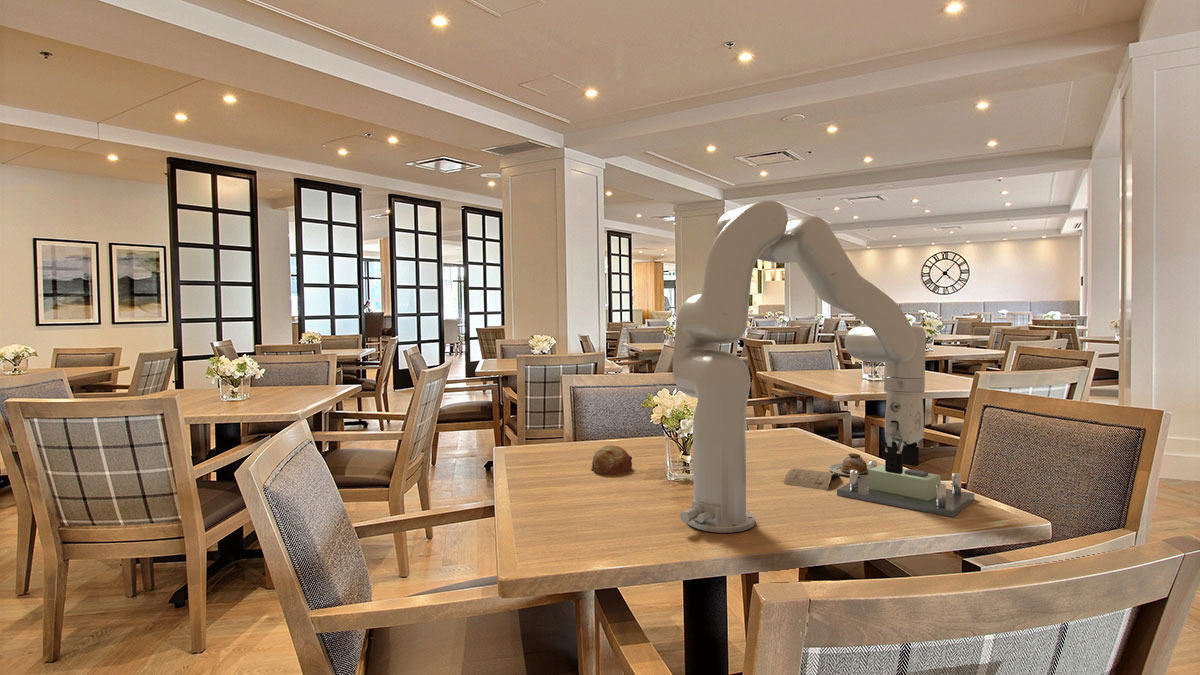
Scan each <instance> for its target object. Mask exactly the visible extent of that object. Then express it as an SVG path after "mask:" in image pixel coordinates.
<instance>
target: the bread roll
mask: <svg viewBox="0 0 1200 675" xmlns="http://www.w3.org/2000/svg"><path fill="white" fill-rule="evenodd" d="M632 460H633V457H632V456H631V455H630V454H629V453H628V451H627V450H625V449H624V448H622V447H620V446H618V445H612V444H607V445H604V446H602V447H600V448H599V449H597V450H596V452H594V454H593V456H592V462H591V464H592V465H591V468H590V470H591V469H592V470H591V471H593V470H594V472H595V471H596V472H595V473H597V474H600V473H601V474H600V475H620V474H625V473H628V472H630V471H631V469H632V467H633V463H632ZM619 473H620V474H619Z"/></svg>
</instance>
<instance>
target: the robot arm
mask: <svg viewBox="0 0 1200 675" xmlns="http://www.w3.org/2000/svg"><path fill="white" fill-rule="evenodd" d="M788 216H789V215H788V210H787V209H786V207H785V206H784V205H783V204H782V203H780V202H777V201H776V200H770V199H766V200H760V201H756V202H753V203H749V204H747V205H744V206H742V207H739V208H735V209H731V210H729V211H727V212H726V213H724V214H723V215H722V216H721V217H720V218H719V219H718V220H717V222H716V224H715V229H714V235H715V239H714V241H713V243H712V245H711V247H710V249H709V252H708V255H707V258H706V262H705V270H704V276H703V284H702V290H701V291H702V292H701V293H698V294H697V293H696V294H694V295H692V296H691V297H688V298H687V299H686V300H685V301H684V302H683V304H682V305H681V307H680V308H679V312H678V314H677V317H676V324H675V332H674V345H673V354H672V355H673V356H672V376H673V377H672V378H673V381H674V383H675V385H676V387H677V389H679V391H680V392H681V393H683V394H685V395H687V396H689V397H692V398H694V399H697V404H696V406H695V410H694V414H693V421H692V450H693V451H692V452H693V453H692V456H693V458H692V459H693V460H692V461H693V466H692V468H693V469H692V470H693V474H692V475H693V499H692V500H691V507H690V508H689V509H686V510H685V511H682V512H681V513H680V514H679V517H680V520H681V521H682V522H683V523H685V524H686V523H687V524H688V526H690V527H692V528H694V529H697V530H699V531H700V530H701V531H703V532H710V533H719V534H726V533H727V534H728V533H738V532H739V533H741V532H745V531H747V530H749V529H751V528H753V527H754V526H755V523H756V518H755V515H754V514H753V513H751V512H750V511H749V510H747V459H746V458H747V451H746V450H747V448H746V444H747V441H746V423H747V422H746V420H747V418H746V417H747V406H748V400H749V396H750V395H749V394H750V388H751V374H750V370H749V368H748V365H747V364H746V363H745V361H744V360H743V359H741V357H739V356H738V355H736V354H734V353H732V352H728V351H724V350H719V345H720V344H732V343H734V342H737V341H739V340H740V339H741V338H743V336H744V335H745V333H746V331H747V326H748V320H749V311H750V310H749V309H750V296H751V295H750V294H751V285H752V278H753V272H754V268H755V265H756V262H757V261H763V262H769V263H777V264H789V263H796V264H797V265H798V267H799V268H800V270H801V272H802V273H803V275H804V276H805V277H806V280H808V282H809V284H810V285H811V287H812V289H813V290H814V292H815V293H816V295H817V297H819V298H818V299H819V300H822V301H823V302H824V303H827V304H828V305H829V306H832V307H835V308H837V309H839V310H841V311H842V310H843V311H844V312H847V313H849V314H851V315H852V316H855V317H857V318H858V319H859V320H861V321H862V322H863V323H865V324H859V325H856V326H854V327H852V328H851V329H850V330H848V332H847V333H846V335H845V338H844V348H845V350H846V352H847V353H848V354H849V355H850V357H851V358H854V359H855V360H858V361H862V362H872V363H883V364H884V370H883V373H884V375H883V393H884V394H886V400H885V401H886V404H885V412H884V413H885V415H884V438H885V442H884V445H885V449H884V452H885V454H884V455H885V456H884V457H885V463H884V465H885V471H886V472H889V473H895V474H902V473H903V469H904V465H908V466H913V467H918V466H919V465H920V441H921V440H923V438H924V436H925V418H924V417H925V413H924V412H925V411H924V399H923V395H925V391H926V390H925V388H926V384H925V383H926V345H927V342H926V341H927V340H926V339H927V337H926V333H927V332H926V330H925V328H923V327H922V326H918V325H912V324H911V322H910V321H909V320H908V318H907V316H906V314H905V313H904V311H903V310H902V308H901V307H900V306H899V304H898V303H897V302H896V301H895V300H893V299H892V298H891V297H890V296H889V295H887V294H886V293H885V292H883V291H882V290H881V289H879V288H878V287H877V286H876V285H875V284H873V283H872V282H870V281H869V280H867V279H865V278H864V277H863V276H862V275H861V274H860V273H859V272H858V271H857V269H856V268H855V266H854V264H853V262H852V261H851V259H850V257H849V256H848V254H847V253H846V251H845V250H844V248H843V245H841V243H840V242H839V240H838V237H836V234H835V233H834V232H833V230H832V228H831V227H830V225H829V224H828V223H827V222H826V220H824V219H823V218H821V217H819V216H816V215H807V216H806V215H805V216H801V217H796V218H792V219H791V218H790V219H789V217H788Z"/></svg>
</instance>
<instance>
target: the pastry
mask: <svg viewBox="0 0 1200 675" xmlns="http://www.w3.org/2000/svg"><path fill="white" fill-rule="evenodd" d="M838 469H840V471H841V472H840V471H839V470H838ZM868 469H869V464H867V461H865V459H863V457H861V454H858V453H848V456H846V457H845V458H844V459H843V461H842V462H838V463H834V464H831V465H830V466H828V470H829V471H831V472H830V473H833V472H834V473H838V474H839V476H843V475H844V477H850V474H849V473H850V470H858V477H859V478H861V477H862V476H864V475H865V474H866V473H868ZM837 470H838V471H837ZM845 472H846V473H845ZM865 476H868V474H867V475H865ZM859 478H858V479H859Z"/></svg>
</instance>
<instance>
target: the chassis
mask: <svg viewBox="0 0 1200 675" xmlns="http://www.w3.org/2000/svg"><path fill="white" fill-rule="evenodd" d="M868 465H869V469H871V468H874V467H877V466H878V461H876V460H869V461H868ZM849 475H850V476H849V483H847V484H844V485H843V486H840V487H839V488H837V489H836V496H838V497H844V498H850V499H856V500H859V501H860V500H861V501H865V502H866V501H867V502H871V503H875V504H882V505H887V506H892V507H898V508H903V509H908V510H912V511H919V512H924V513H929V514H934V515H940V516H944V517H945V516H946V517H949V518H955V517H956V516H957V515H958V514H959V513H960V512H962V511H963V510H964V509H965V508H966V507H967V506H969V504H971V503H972V502H973V501H974V500H975V492H968V491H962V473H960V472H959V473H958V472H952V473H951V489H948V488H947V485H946V484H945V483H941V484H936V497H935V498H933V499H930V500H928V501H927V500H922V499H917V498H912V497H908V496H903V495H898V494H893V493H889V492H884V491H879V490H874V489H869V488H868V476H866V475H865V474H863V475H864V476H863V475H861V476H862V477H861V478H858V470H850V474H849Z"/></svg>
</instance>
